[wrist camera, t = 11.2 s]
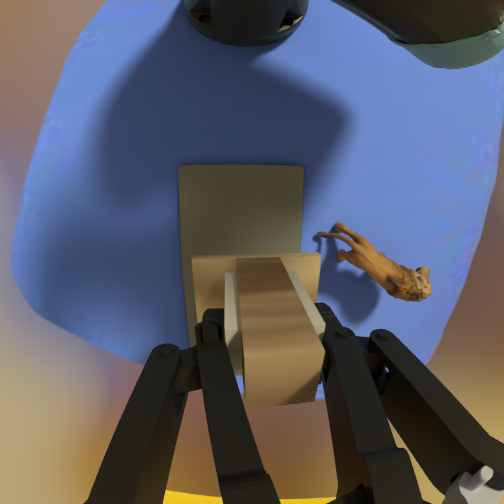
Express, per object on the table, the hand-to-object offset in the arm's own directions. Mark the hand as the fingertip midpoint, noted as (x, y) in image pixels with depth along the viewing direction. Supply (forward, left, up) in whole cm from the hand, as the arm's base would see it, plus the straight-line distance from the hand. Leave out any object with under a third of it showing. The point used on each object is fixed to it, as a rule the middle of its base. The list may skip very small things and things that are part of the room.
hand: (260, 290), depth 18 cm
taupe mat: (+4, 0, -15) cm, 16 cm away
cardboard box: (+1, 0, -2) cm, 3 cm away
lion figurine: (+2, +16, -15) cm, 22 cm away
